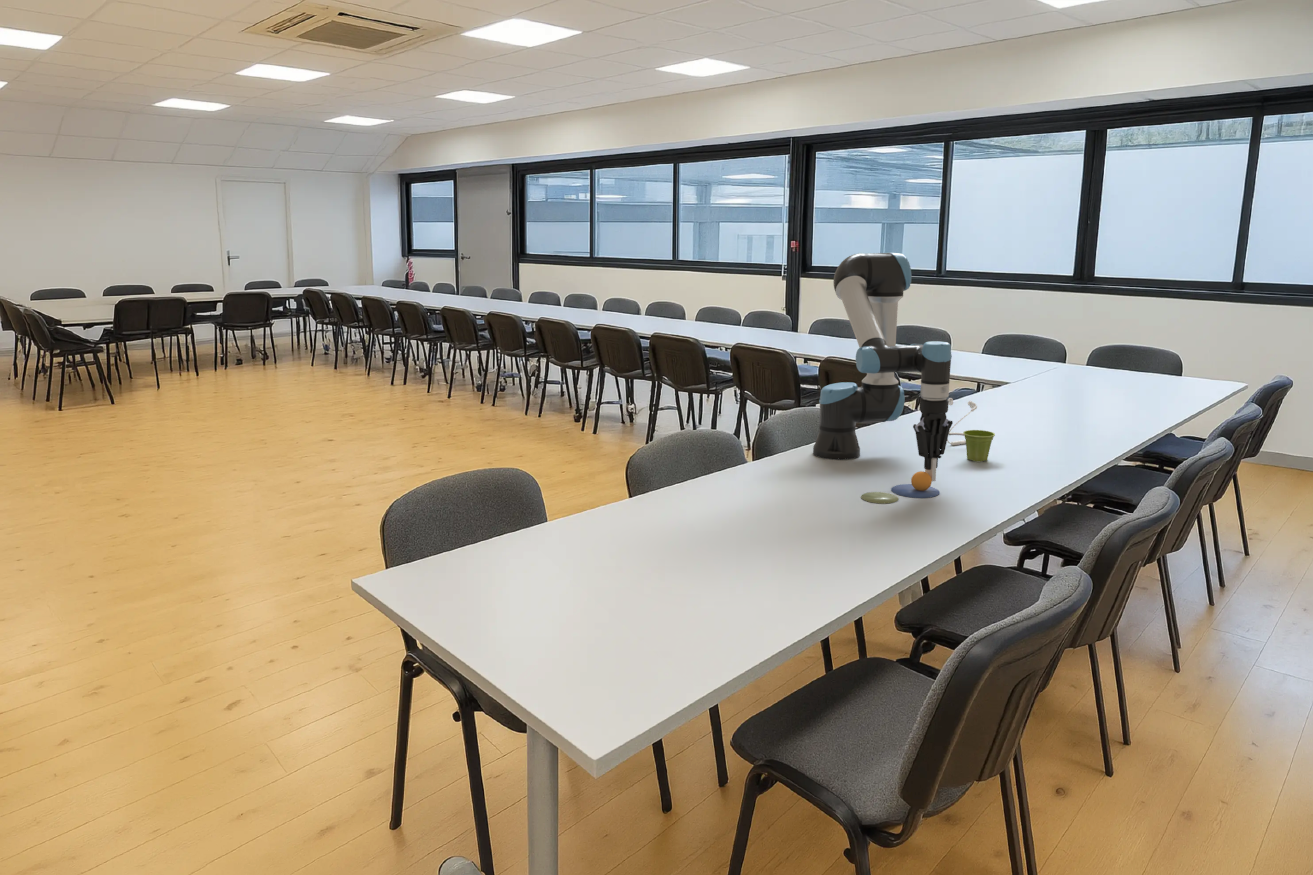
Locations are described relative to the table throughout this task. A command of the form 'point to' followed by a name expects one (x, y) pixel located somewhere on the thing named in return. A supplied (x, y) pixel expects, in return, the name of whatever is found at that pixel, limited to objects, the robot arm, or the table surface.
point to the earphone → (973, 407)
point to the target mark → (914, 491)
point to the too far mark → (879, 497)
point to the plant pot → (978, 444)
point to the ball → (921, 481)
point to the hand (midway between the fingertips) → (930, 479)
